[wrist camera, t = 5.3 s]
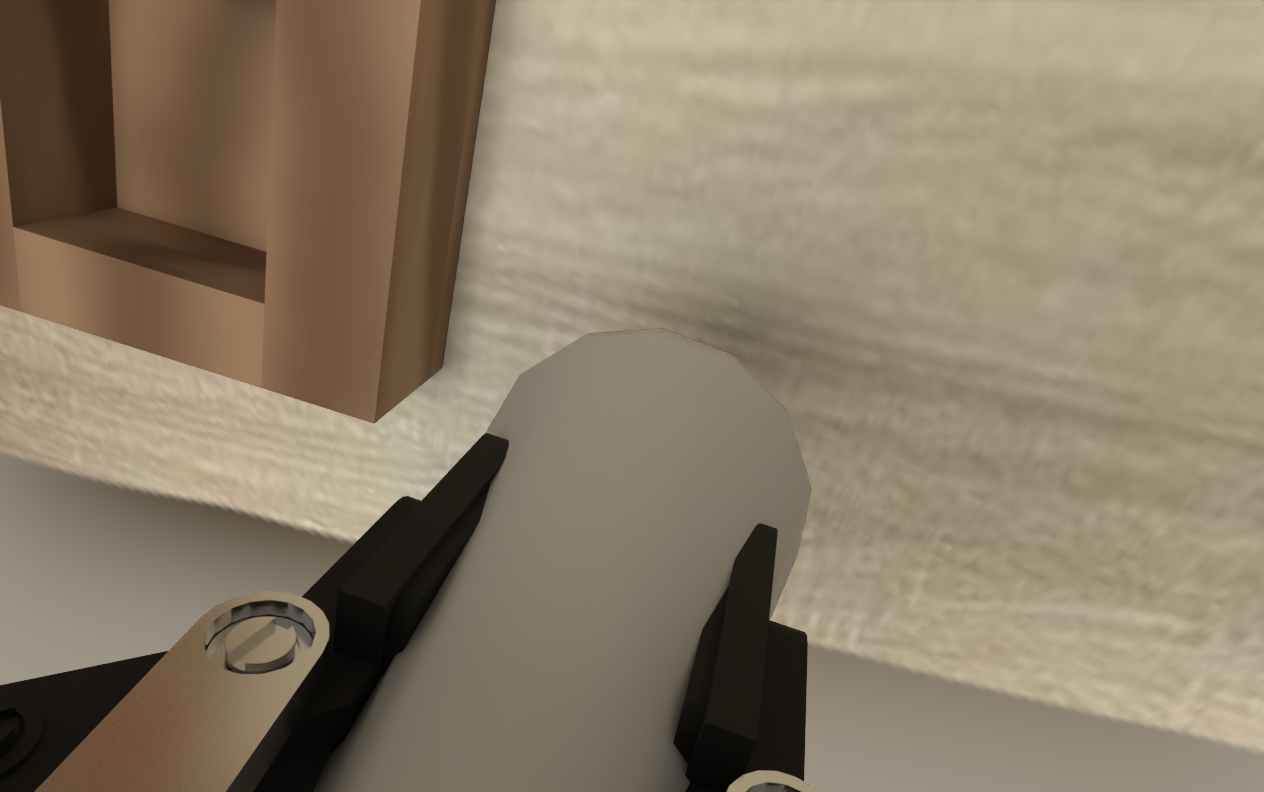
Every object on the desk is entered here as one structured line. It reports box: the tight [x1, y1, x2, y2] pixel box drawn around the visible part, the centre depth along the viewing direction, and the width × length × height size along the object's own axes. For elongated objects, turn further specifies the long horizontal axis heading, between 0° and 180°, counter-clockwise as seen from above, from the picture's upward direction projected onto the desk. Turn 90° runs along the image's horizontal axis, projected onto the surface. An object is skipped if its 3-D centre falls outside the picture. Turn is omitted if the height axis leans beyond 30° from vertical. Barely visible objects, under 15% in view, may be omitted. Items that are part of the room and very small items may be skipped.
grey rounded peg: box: [313, 328, 811, 792], centre depth 10 cm, size 6×6×13 cm
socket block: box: [0, 0, 496, 423], centre depth 24 cm, size 16×14×5 cm
